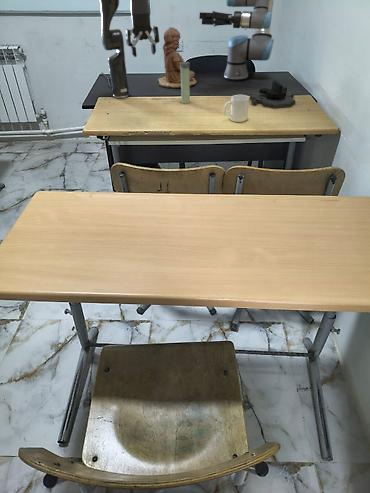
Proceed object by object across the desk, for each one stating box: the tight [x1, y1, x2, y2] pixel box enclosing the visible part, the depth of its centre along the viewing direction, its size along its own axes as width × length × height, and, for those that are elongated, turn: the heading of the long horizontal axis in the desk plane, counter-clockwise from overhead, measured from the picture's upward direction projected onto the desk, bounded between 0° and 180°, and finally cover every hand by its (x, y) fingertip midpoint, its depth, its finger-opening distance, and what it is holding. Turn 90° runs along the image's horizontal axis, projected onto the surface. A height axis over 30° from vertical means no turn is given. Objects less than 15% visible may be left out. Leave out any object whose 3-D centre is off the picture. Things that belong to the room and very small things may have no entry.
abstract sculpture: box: [249, 79, 296, 109], centre depth 189 cm, size 25×9×20 cm
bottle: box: [180, 67, 191, 104], centre depth 189 cm, size 4×4×19 cm
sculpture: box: [157, 27, 198, 89], centre depth 214 cm, size 27×24×30 cm
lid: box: [180, 61, 191, 69], centre depth 184 cm, size 5×5×2 cm
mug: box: [222, 94, 250, 123], centre depth 170 cm, size 12×8×10 cm
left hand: (144, 55), depth 157 cm, fingers open, 8 cm apart
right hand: (200, 18), depth 189 cm, fingers open, 13 cm apart
